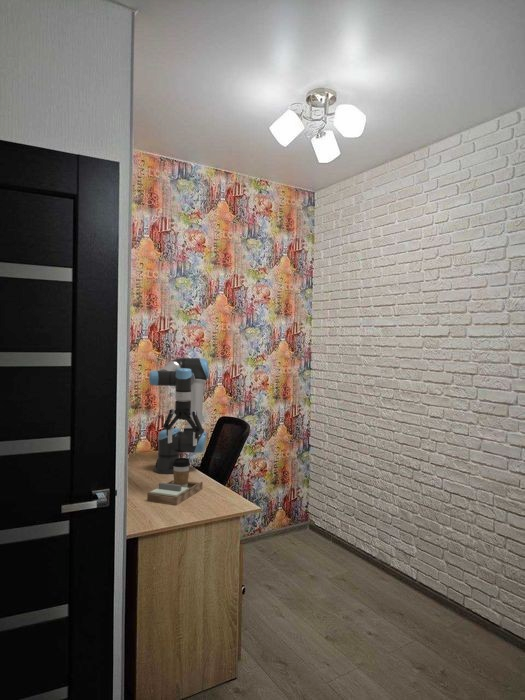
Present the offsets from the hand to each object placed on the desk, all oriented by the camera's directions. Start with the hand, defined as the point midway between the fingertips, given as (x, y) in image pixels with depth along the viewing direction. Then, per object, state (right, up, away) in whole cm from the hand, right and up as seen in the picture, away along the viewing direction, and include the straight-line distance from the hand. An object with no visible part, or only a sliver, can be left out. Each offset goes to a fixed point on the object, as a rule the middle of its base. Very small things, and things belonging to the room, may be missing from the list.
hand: (182, 444), depth 234 cm
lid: (-4, -20, -10) cm, 23 cm away
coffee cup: (-1, -23, 0) cm, 23 cm away
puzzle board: (-2, -23, -5) cm, 24 cm away
